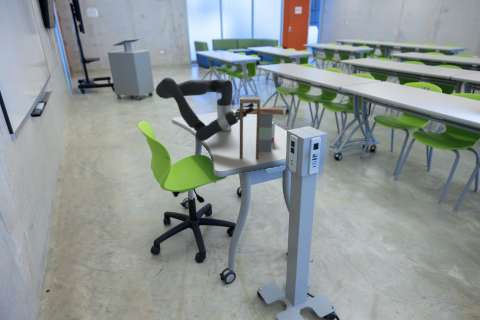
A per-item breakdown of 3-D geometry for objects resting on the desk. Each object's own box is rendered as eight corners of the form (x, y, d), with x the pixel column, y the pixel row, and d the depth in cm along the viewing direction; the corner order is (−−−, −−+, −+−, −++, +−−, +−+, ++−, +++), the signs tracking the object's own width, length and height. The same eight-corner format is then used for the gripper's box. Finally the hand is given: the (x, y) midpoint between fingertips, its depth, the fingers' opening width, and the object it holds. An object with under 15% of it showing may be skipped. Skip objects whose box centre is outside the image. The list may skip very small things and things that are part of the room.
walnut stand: (240, 154, 171) (240, 96, 158) (258, 154, 170) (260, 96, 157) (239, 158, 165) (239, 99, 152) (258, 159, 165) (260, 99, 152)
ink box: (272, 138, 193) (273, 120, 188) (274, 141, 189) (275, 123, 184) (258, 139, 192) (259, 121, 187) (260, 142, 187) (261, 123, 182)
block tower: (256, 147, 180) (257, 112, 172) (270, 147, 180) (272, 112, 171) (256, 151, 175) (257, 115, 166) (270, 151, 175) (272, 115, 166)
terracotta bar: (242, 112, 171) (242, 107, 169) (282, 113, 170) (283, 107, 168) (242, 114, 168) (242, 108, 167) (283, 114, 167) (283, 109, 166)
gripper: (222, 118, 164) (249, 103, 160) (225, 111, 177) (250, 97, 173) (229, 130, 166) (256, 115, 162) (231, 122, 179) (256, 108, 175)
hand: (253, 106), depth 168 cm, fingers open, 8 cm apart
